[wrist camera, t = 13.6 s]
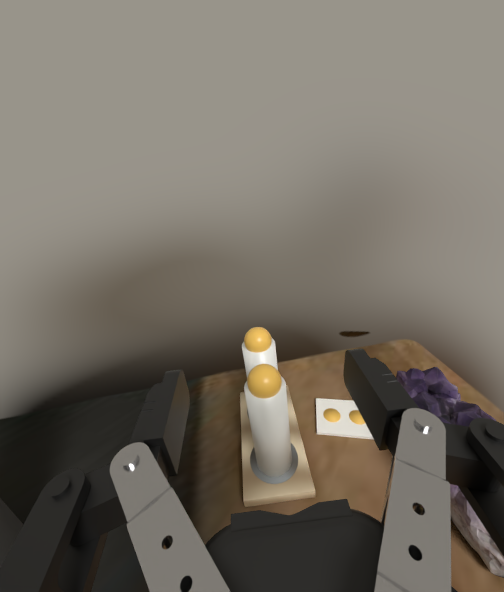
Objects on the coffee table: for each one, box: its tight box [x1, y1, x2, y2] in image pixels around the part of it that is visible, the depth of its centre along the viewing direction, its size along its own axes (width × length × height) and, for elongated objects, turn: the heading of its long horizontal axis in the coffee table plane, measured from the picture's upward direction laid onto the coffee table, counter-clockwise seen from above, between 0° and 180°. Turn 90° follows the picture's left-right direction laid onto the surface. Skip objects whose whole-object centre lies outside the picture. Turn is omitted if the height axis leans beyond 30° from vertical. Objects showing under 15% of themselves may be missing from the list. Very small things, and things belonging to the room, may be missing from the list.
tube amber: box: [244, 364, 292, 477], centre depth 29 cm, size 4×4×14 cm
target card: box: [316, 398, 373, 439], centre depth 38 cm, size 8×6×1 cm
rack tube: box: [242, 327, 278, 378], centre depth 36 cm, size 4×4×14 cm
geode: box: [396, 367, 504, 578], centre depth 29 cm, size 20×12×10 cm, turn 13°
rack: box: [240, 386, 315, 507], centre depth 36 cm, size 16×8×1 cm, turn 4°
